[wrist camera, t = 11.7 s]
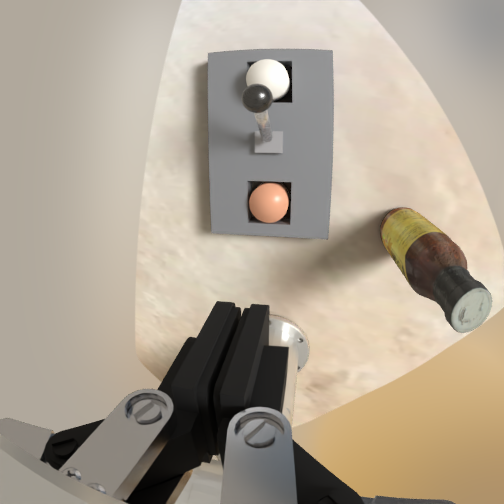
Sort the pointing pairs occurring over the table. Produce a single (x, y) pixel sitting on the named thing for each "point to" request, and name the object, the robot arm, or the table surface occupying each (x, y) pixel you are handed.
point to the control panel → (271, 143)
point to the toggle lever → (259, 107)
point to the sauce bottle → (435, 268)
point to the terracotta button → (269, 201)
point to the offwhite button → (269, 77)
